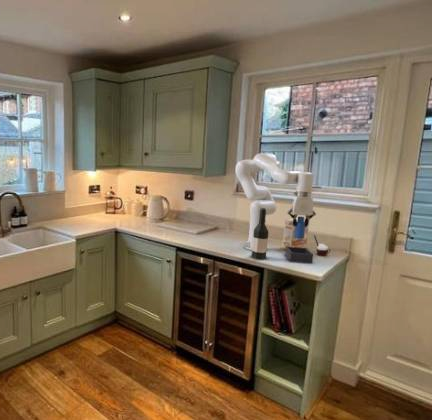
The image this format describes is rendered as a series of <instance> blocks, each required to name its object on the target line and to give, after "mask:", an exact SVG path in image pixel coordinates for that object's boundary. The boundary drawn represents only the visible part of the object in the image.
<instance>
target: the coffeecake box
mask: <svg viewBox="0 0 432 420" xmlns="http://www.w3.org/2000/svg"><path fill="white" fill-rule="evenodd" d="M305 219H306V218H304V222H305ZM296 220H297V221H298V217H296ZM310 221H311V219H310V220H309V223H308V225H307V227H305V233H304V238H303V239H299V238H295V237H294V232H295V226H293V218H288V219H287V218H286V219H284V228H283V237H282V246H281V249H283V250H286V247H297V248H307V243H308V235H309V228H310Z"/></svg>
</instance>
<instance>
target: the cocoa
mask: <svg viewBox="0 0 432 420" xmlns="http://www.w3.org/2000/svg"><path fill="white" fill-rule="evenodd" d="M313 237H314V241H315V243H316V248H315V249H316V253H317V255H319V256H326V255H328V254H330V253H331V250H330V249H329V247H328V246H327V245H325V244H324V243H318V240H317V237H316V234H315V235H313Z"/></svg>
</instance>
